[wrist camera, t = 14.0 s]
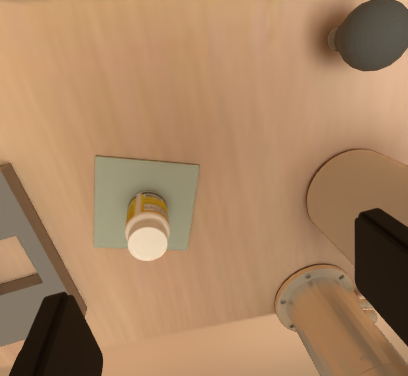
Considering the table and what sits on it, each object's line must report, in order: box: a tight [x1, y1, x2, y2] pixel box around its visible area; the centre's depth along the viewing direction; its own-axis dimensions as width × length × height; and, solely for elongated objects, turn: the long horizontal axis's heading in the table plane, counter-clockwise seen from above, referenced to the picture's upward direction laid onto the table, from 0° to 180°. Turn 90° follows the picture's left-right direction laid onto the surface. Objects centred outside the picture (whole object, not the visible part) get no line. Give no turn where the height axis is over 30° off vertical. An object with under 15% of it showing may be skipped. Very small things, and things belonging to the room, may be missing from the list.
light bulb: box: [327, 0, 408, 71], centre depth 31 cm, size 6×6×10 cm
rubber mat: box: [94, 156, 200, 250], centre depth 40 cm, size 12×12×1 cm
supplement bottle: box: [125, 191, 170, 261], centre depth 36 cm, size 5×5×8 cm
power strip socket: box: [0, 163, 87, 347], centre depth 38 cm, size 22×11×3 cm, turn 14°
